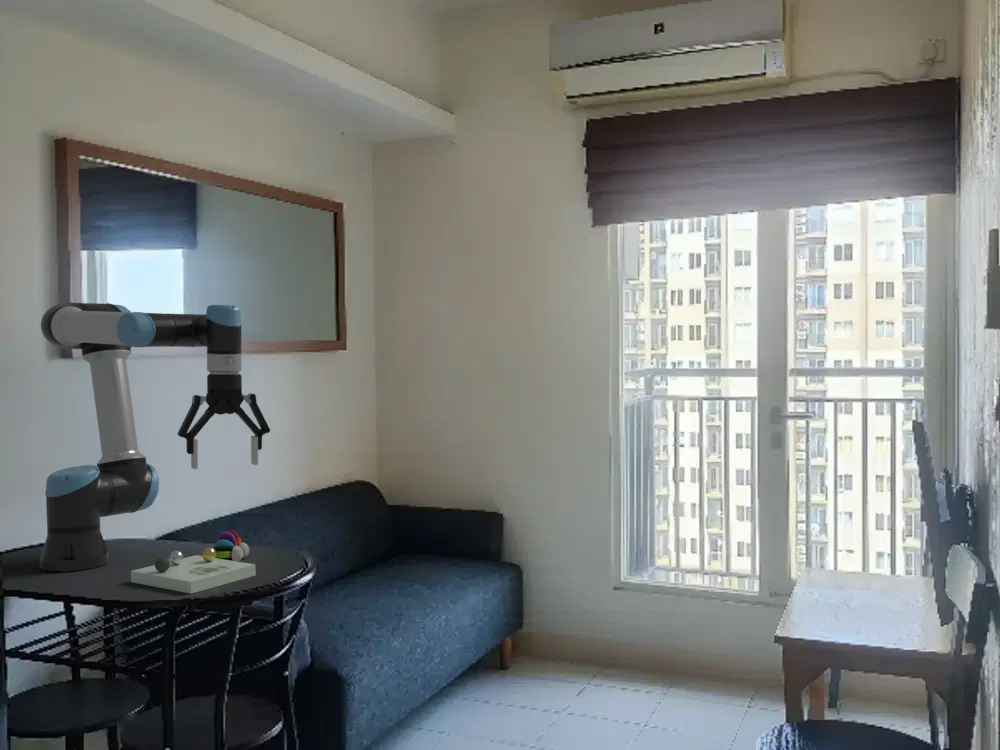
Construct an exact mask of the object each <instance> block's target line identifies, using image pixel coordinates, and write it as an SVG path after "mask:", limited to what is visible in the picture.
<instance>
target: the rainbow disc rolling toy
mask: <svg viewBox="0 0 1000 750" xmlns="http://www.w3.org/2000/svg"><path fill="white" fill-rule="evenodd" d="M209 547H210V548H213V549H214V550H215V551H216V557H215V558H218V559H227V558H228V559H229V558H231V559H232V560H231V561H237V562H241V560H242V558H243V559H245V558H247V556H248V555H249V554H250V547H249V545H248V544H247V543H245V542H242V539H241V537H239V534H238V533H237V532H236V531H235V530H233V529H232V530H231V529H230V530H226V531H223V532H221V533H220V534H219V535H218V537H217V541H215V544H214V545H211V546H209Z"/></svg>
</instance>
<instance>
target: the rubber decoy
mask: <svg viewBox="0 0 1000 750" xmlns="http://www.w3.org/2000/svg"><path fill="white" fill-rule="evenodd" d="M154 565H155V568H156V570H157V571H159V572H165V571H167V570H168V569H169V567H170V561H169V558H167V557H165V556H164V557H159V558H157V559H156V561H155V562H154Z"/></svg>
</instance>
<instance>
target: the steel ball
mask: <svg viewBox="0 0 1000 750" xmlns="http://www.w3.org/2000/svg"><path fill="white" fill-rule="evenodd" d="M183 558H185V557H184V554H183V553H182V551H180V550H173V551H171V552H170V554H169V555H168V560H169V561H170V563H171V564H173V565H178V564H180V563H181V562H182V561H183Z"/></svg>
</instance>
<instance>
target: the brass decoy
mask: <svg viewBox="0 0 1000 750" xmlns="http://www.w3.org/2000/svg"><path fill="white" fill-rule="evenodd" d="M210 547H211V546H209V547H206V548H204V549H203V550H202V552H201V556H202V558H203V559H204V560H205V561H208V562H209V561H212V560H214V559H215V557H216V551H215V550H214V549H213V548H210Z"/></svg>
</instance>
